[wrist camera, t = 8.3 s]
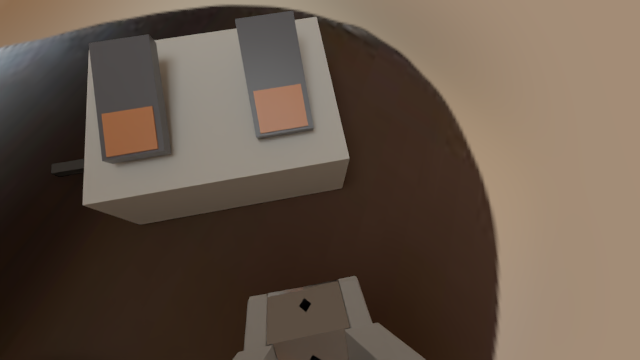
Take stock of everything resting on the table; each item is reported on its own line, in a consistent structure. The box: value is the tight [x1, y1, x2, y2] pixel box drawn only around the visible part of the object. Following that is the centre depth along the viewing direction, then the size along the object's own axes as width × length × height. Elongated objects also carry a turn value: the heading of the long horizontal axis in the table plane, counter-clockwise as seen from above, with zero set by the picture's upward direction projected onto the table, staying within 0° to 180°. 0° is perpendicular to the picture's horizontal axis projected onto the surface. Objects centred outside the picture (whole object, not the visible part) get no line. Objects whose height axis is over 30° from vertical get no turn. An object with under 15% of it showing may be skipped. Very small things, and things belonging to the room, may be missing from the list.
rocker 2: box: [235, 11, 314, 139], centre depth 25 cm, size 4×9×2 cm, turn 11°
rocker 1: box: [89, 35, 171, 164], centre depth 24 cm, size 4×9×2 cm, turn 11°
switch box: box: [51, 17, 350, 225], centre depth 30 cm, size 28×14×8 cm, turn 101°
